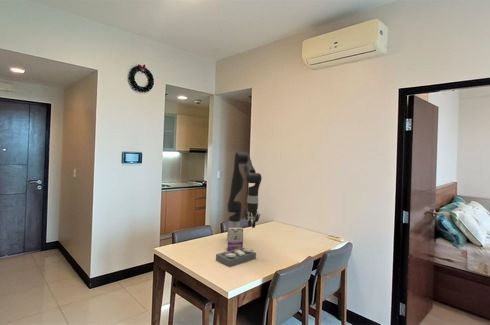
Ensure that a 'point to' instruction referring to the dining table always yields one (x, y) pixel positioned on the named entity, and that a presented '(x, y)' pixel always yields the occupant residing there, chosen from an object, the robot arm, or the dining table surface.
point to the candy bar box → (235, 238)
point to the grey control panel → (235, 257)
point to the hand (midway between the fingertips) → (251, 227)
